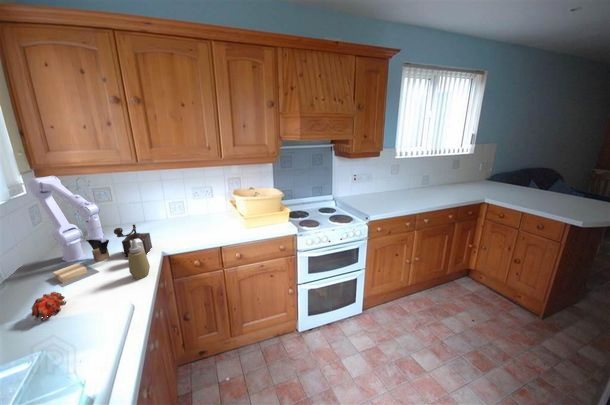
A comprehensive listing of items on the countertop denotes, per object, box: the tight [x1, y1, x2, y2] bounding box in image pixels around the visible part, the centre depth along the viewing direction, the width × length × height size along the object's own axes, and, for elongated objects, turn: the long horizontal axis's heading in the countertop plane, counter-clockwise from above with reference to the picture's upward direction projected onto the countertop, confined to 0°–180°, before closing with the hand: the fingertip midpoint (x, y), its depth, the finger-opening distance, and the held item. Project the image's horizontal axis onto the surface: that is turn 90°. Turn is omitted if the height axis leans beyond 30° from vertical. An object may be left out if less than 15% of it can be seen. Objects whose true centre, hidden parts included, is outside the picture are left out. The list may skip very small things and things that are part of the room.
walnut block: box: [91, 248, 111, 263], centre depth 135 cm, size 5×5×6 cm
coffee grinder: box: [113, 224, 153, 258], centre depth 138 cm, size 16×11×18 cm
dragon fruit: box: [31, 291, 67, 321], centre depth 95 cm, size 8×8×12 cm
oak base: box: [52, 262, 88, 283], centre depth 120 cm, size 9×9×3 cm
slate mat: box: [46, 262, 100, 288], centre depth 121 cm, size 18×14×1 cm
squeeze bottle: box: [127, 240, 151, 280], centre depth 118 cm, size 8×8×18 cm
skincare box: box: [130, 238, 144, 250], centre depth 131 cm, size 6×4×12 cm
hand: (100, 252), depth 134 cm, fingers open, 7 cm apart
